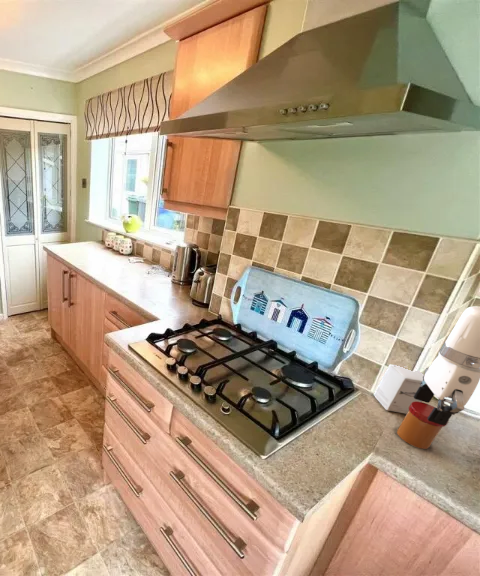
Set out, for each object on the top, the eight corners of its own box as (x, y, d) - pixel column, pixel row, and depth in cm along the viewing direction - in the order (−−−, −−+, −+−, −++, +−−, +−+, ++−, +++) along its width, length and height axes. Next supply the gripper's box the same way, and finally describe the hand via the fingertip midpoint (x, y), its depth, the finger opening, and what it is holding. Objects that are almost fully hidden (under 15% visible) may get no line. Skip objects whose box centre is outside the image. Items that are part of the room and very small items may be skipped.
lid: (442, 415, 82) (445, 410, 81) (449, 431, 76) (452, 426, 76) (406, 402, 86) (409, 397, 85) (410, 417, 80) (413, 412, 80)
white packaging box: (386, 411, 94) (404, 377, 89) (372, 394, 100) (388, 363, 95) (414, 416, 92) (434, 383, 87) (398, 399, 99) (416, 367, 94)
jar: (426, 437, 85) (443, 411, 81) (431, 453, 80) (449, 426, 76) (395, 425, 88) (410, 399, 85) (398, 439, 84) (413, 413, 80)
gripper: (508, 382, 65) (464, 441, 72) (465, 344, 79) (432, 396, 86) (460, 370, 68) (422, 427, 75) (427, 335, 82) (398, 386, 89)
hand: (427, 410), depth 81 cm, fingers open, 8 cm apart
